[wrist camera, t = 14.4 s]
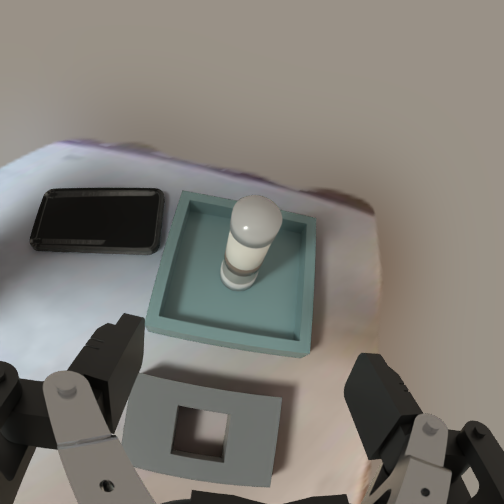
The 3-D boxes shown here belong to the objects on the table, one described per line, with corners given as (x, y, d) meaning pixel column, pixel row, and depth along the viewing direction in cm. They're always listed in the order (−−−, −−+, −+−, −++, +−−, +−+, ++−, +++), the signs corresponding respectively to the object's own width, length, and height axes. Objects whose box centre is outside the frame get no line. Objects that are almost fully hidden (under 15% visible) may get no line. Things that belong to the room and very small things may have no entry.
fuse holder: (125, 457, 20) (119, 462, 18) (139, 374, 24) (134, 371, 22) (263, 480, 21) (269, 487, 19) (274, 398, 25) (282, 397, 23)
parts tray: (148, 331, 26) (144, 324, 24) (182, 204, 33) (182, 190, 31) (300, 358, 27) (309, 353, 25) (308, 230, 34) (316, 218, 32)
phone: (46, 188, 30) (165, 188, 32) (49, 194, 31) (165, 194, 33) (27, 248, 26) (157, 252, 29) (31, 253, 27) (158, 257, 30)
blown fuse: (216, 287, 28) (228, 231, 20) (223, 255, 30) (236, 190, 21) (252, 294, 29) (280, 242, 20) (257, 262, 30) (284, 201, 22)
